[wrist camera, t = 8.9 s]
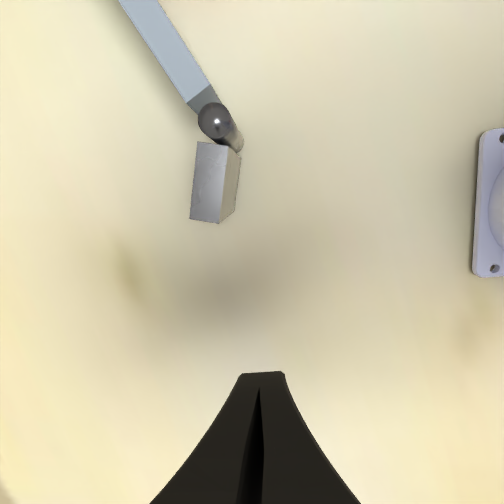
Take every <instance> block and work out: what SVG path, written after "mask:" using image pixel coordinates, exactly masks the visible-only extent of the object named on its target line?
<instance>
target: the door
mask: <svg viewBox="0 0 504 504" xmlns="http://www.w3.org/2000/svg"><path fill="white" fill-rule="evenodd" d="M118 1H119V3H120V4H121V6H122V7H123V9H124V10H125V12H126V13H127V15H128V16H129V18H130V19H131V21H132V22H133V24H134V25H135V27H136V28H137V30H138V31H139V33H140V34H141V36H142V37H143V39H144V40H145V42H146V43H147V45H148V46H149V48H150V49H151V51H152V52H153V54H154V55H155V57H156V58H157V60H158V62H159V63H160V65H161V66H162V68H163V69H164V71H165V72H166V74H167V75H168V77H169V78H170V80H171V81H172V83H173V84H174V86H175V87H176V89H177V90H178V92H179V93H180V95H181V96H182V98H183V99H184V101H185V102H186V104H187V105H188V106H189V107H190V108H191V109H193V110H194V111H195V112H196V113H197V114H198V115H199V112H200V110H201V109H202V107H203V106H204V105H206V104H208V103H211V102H217V103H220V104H222V103H221V101H220V100H219V98H218V96H217V94H216V93H215V91H214V89H213V87H212V86H211V84H210V82H209V81H208V79H207V78H206V76H205V75H204V73H203V72H202V70H201V68H200V67H199V65H198V64H197V62H196V61H195V59H194V57H193V56H192V54H191V53H190V51H189V50H188V48H187V46H186V45H185V43H184V42H183V40H182V39H181V37H180V36H179V34H178V32H177V31H176V29H175V28H174V26H173V25H172V23H171V21H170V20H169V18H168V17H167V15H166V14H165V12H164V10H163V9H162V7H161V6H160V4H159V3H158V1H157V0H118Z"/></svg>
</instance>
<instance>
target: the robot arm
mask: <svg viewBox="0 0 504 504" xmlns="http://www.w3.org/2000/svg"><path fill="white" fill-rule="evenodd" d="M501 134H502V135H503V136H504V128H498V129H492V130H489V131H486V132H485V133H483V134H482V136H481V137H480V141H479V159H478V176H477V193H476V211H475V228H474V245H473V262H472V271H473V273H474V274H475V275H477V276H479V277H483V278H486V277H498V276H504V141H503V142H502V143H501V142H500V140H499V138H500V135H501ZM492 265H494V266H495V267H494V269H493V270H492V271H490V267H491V266H492ZM150 504H361V503H360V502H359V501H358V499H357V498H356V497H355V495H354V494H353V493H352V492H351V490H350V489H349V488H348V486H347V485H346V484H345V482H344V481H343V480H342V478H341V477H340V476H339V474H338V473H337V472H336V470H335V469H334V467H333V466H332V465H331V463H330V462H329V460H328V459H327V457H326V456H325V454H324V453H323V451H322V450H321V448H320V447H319V445H318V443H317V442H316V440H315V439H314V437H313V435H312V434H311V432H310V430H309V429H308V427H307V425H306V423H305V421H304V420H303V418H302V416H301V414H300V412H299V410H298V408H297V406H296V404H295V402H294V400H293V398H292V396H291V393H290V391H289V388H288V386H287V383H286V379H285V374H284V373H282V372H281V371H274V372H258V373H242V374H241V375H240V376H239V377H238V380H237V382H236V384H235V386H234V387H233V389H232V391H231V393H230V395H229V397H228V398H227V400H226V402H225V404H224V405H223V407H222V409H221V410H220V412H219V413H218V415H217V417H216V418H215V420H214V421H213V423H212V425H211V426H210V428H209V429H208V431H207V432H206V433H205V435H204V436H203V438H202V439H201V440H200V442H199V443H198V445H197V446H196V448H195V449H194V450H193V452H192V453H191V455H190V456H189V457H188V458H187V460H186V461H185V462H184V464H183V465H182V466H181V467H180V469H179V470H178V471H177V472H176V474H175V475H174V476H173V477H172V478H171V480H170V481H169V482H168V483H167V485H166V486H165V487H164V488H163V489H162V490H161V491H160V493H159V494H158V495H157V496H156V497H155V498H154V499H153V500H152V501H151V503H150Z"/></svg>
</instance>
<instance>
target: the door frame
mask: <svg viewBox="0 0 504 504" xmlns="http://www.w3.org/2000/svg"><path fill="white" fill-rule="evenodd" d="M198 124H199V127H200V129H201V130H202V132H203V133H204V134H206V135H207V136H208V137H209V138H211V139H212V140H213V141H214V142H216V143H217V144H218V145H217V144H210V143H204V142H197V152H196V161H195V171H194V180H193V190H192V199H191V209H190V218H189V219H193V220H199V221H205V222H212V223H218V224H219V223H220V222H221V221H222V220H224V219H225V218H226V217H227V216H229V215H230V214H231V213H232V212H234V207H235V200H236V192H237V185H238V178H239V171H240V164H241V158H240V157H239V156H238V155H237V154H236V152H238V151H240V150H241V148H242V147H243V137H242V135H241V133H240V132H239V130H238V128H237V126H236V124H235V122H234V121H233V119H232V117H231V115H230V113H229V111H228V110H227V108H226V107H225V106H224V105H222V104H220V103H217V102H211V103H208V104H206V105H204V106H203V107H202V109H201V110H200V112H199V115H198Z"/></svg>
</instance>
